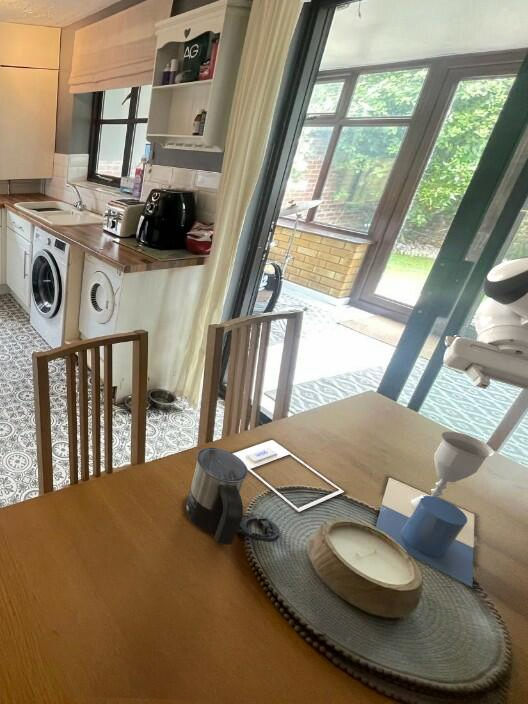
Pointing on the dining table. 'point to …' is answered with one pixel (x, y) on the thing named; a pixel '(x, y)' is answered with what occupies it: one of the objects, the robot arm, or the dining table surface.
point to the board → (392, 523)
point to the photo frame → (272, 452)
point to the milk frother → (223, 498)
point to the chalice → (457, 460)
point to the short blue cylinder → (433, 526)
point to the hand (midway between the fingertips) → (514, 395)
